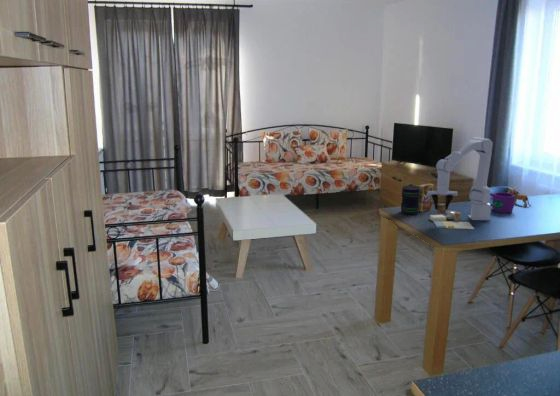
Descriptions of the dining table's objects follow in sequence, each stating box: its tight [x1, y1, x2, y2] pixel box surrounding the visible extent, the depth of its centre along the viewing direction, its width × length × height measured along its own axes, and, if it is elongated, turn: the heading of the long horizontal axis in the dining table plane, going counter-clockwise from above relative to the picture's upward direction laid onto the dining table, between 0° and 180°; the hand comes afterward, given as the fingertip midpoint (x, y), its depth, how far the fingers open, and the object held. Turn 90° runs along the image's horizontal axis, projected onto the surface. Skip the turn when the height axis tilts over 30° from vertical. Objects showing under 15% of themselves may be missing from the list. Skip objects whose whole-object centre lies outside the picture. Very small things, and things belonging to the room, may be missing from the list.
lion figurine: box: [506, 187, 532, 208], centre depth 281 cm, size 15×5×9 cm, turn 38°
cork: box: [453, 211, 462, 222], centre depth 250 cm, size 3×3×4 cm
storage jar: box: [400, 185, 420, 217], centre depth 264 cm, size 10×10×15 cm
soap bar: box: [429, 214, 447, 222], centre depth 253 cm, size 7×4×2 cm, turn 98°
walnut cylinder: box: [435, 203, 447, 215], centre depth 242 cm, size 4×4×4 cm
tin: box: [444, 210, 457, 221], centre depth 256 cm, size 6×6×4 cm
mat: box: [432, 220, 475, 230], centre depth 243 cm, size 18×11×1 cm, turn 83°
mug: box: [490, 191, 515, 214], centre depth 269 cm, size 17×11×10 cm, turn 35°
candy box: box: [417, 182, 434, 213], centre depth 270 cm, size 9×4×15 cm, turn 123°
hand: (441, 209), depth 242 cm, fingers closed on walnut cylinder, 4 cm apart
